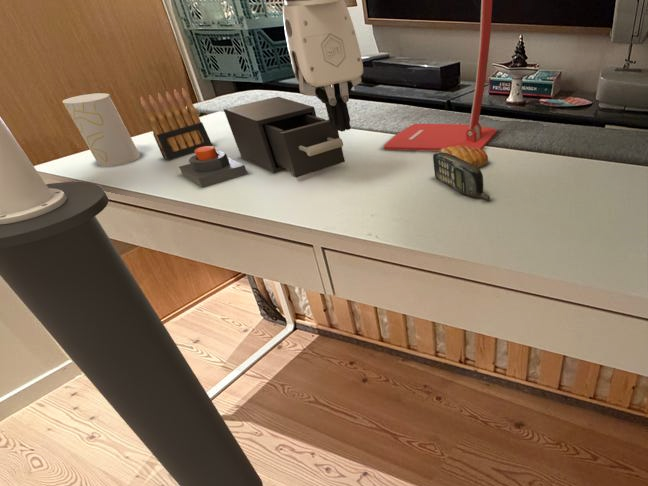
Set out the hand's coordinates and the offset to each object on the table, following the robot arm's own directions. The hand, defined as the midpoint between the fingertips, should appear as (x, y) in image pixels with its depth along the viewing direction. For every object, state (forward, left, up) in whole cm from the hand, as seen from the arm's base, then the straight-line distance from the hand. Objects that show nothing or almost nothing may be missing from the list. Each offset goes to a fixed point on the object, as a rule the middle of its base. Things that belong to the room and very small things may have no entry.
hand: (341, 128), depth 77 cm
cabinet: (0, +26, -10) cm, 28 cm away
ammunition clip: (-12, +47, -10) cm, 50 cm away
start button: (-14, +28, -7) cm, 32 cm away
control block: (-14, +28, -10) cm, 33 cm away
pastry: (+20, -8, -10) cm, 24 cm away
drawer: (0, +15, -9) cm, 18 cm away
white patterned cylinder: (-24, +55, -10) cm, 61 cm away
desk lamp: (+28, +10, -10) cm, 31 cm away
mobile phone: (+12, -16, -10) cm, 22 cm away
